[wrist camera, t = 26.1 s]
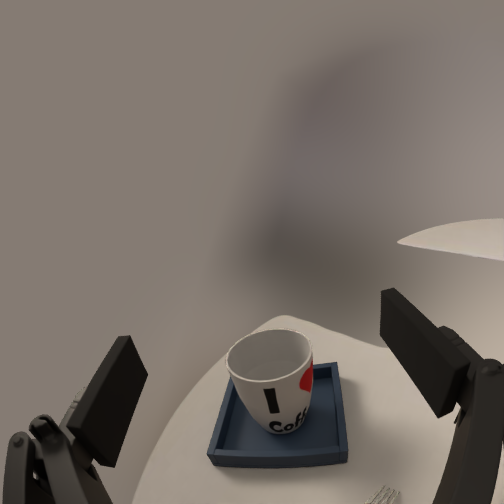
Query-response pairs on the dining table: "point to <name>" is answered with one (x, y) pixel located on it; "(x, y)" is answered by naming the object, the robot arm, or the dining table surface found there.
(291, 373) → the cup
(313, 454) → the tray
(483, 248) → the dining table surface
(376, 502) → the fork
